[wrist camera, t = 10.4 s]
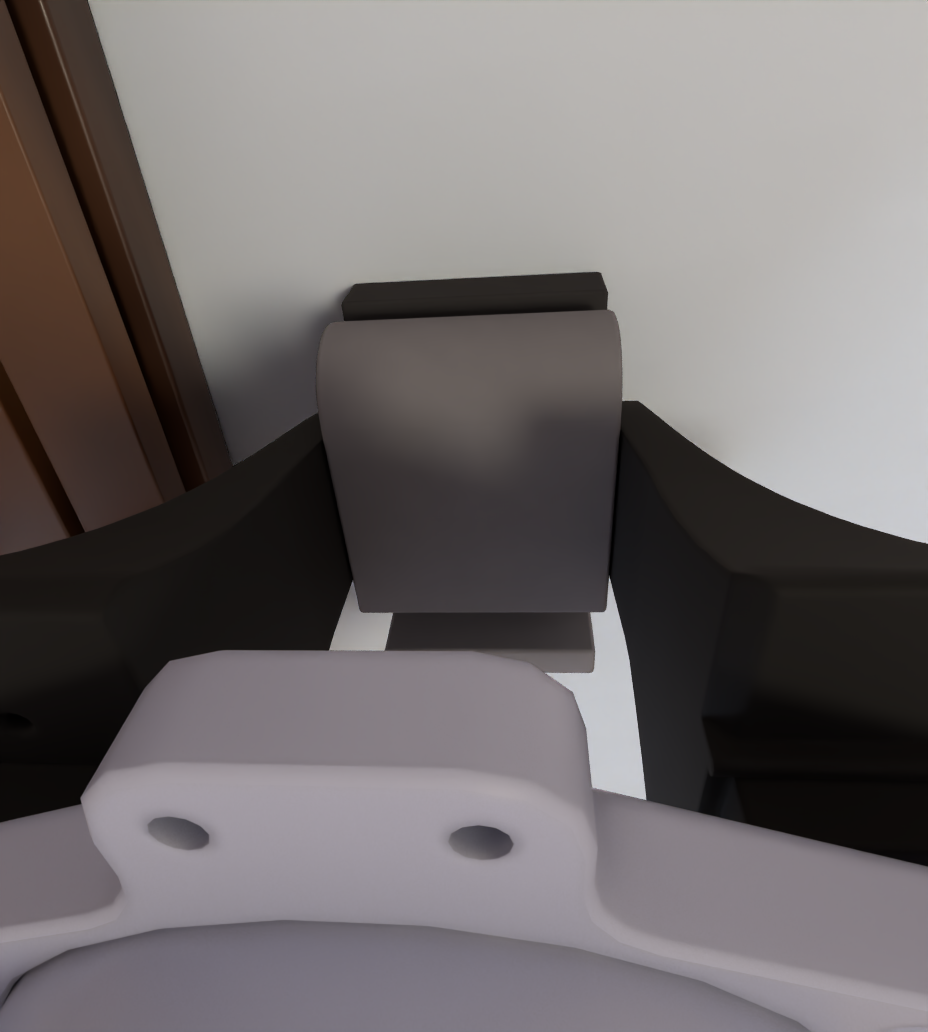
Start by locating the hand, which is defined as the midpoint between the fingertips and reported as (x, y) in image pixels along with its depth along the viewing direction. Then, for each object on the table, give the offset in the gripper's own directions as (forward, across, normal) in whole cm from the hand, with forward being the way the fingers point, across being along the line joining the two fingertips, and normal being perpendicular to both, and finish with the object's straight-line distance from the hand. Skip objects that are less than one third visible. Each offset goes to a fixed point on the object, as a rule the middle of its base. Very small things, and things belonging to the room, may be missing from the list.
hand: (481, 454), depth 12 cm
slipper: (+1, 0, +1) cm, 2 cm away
